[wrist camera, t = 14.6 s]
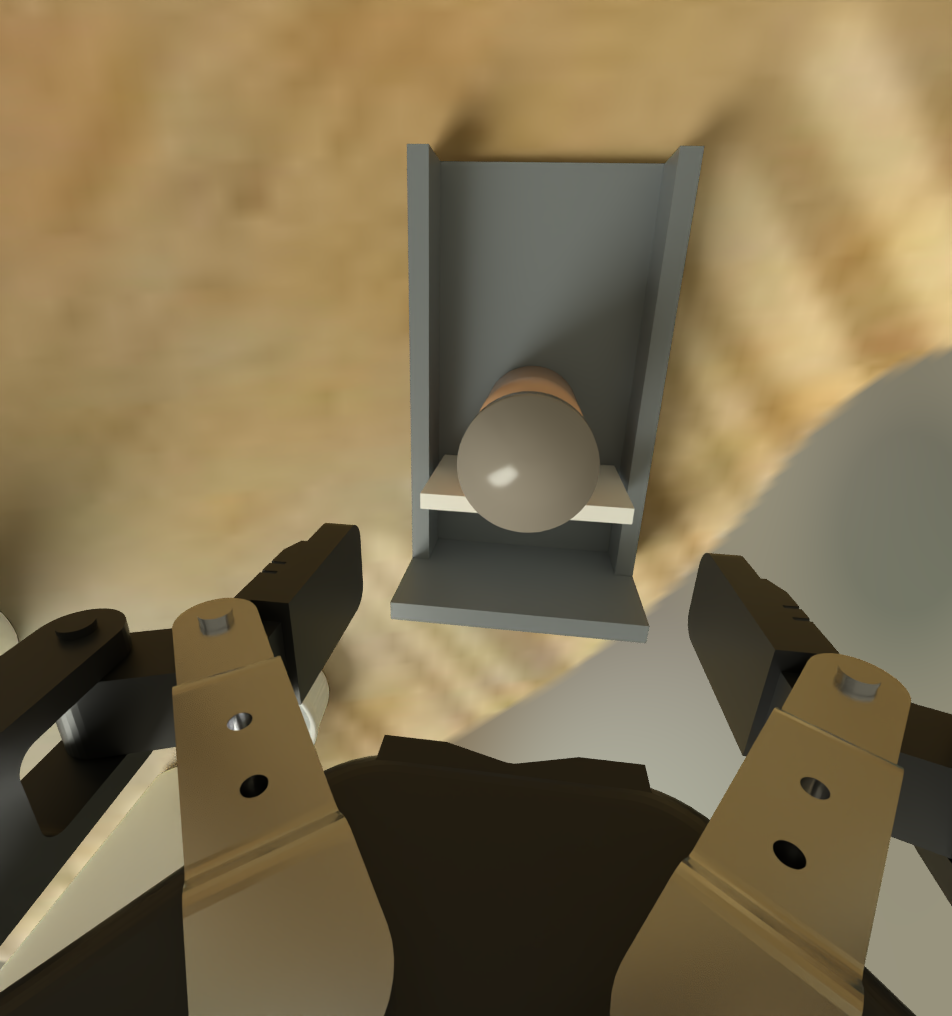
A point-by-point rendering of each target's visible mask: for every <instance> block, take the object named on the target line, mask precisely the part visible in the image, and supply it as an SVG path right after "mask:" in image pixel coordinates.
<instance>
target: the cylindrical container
mask: <svg viewBox="0 0 952 1016" xmlns="http://www.w3.org/2000/svg"><path fill="white" fill-rule="evenodd" d="M16 644H18V639H17V635H16V633H15V630H14V628H13V627H12V625H11V624H10V622H9V621H8V619H7V618H6V617H5V616H4V615H3V614H2V613H1V612H0V656H1V655H2V654H4V653H5V652H6V651H8V650H9V649H11V648H12V647H14V646H15V645H16Z"/></svg>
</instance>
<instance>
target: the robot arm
mask: <svg viewBox="0 0 952 1016" xmlns="http://www.w3.org/2000/svg"><path fill="white" fill-rule="evenodd" d="M362 591H363V576H362V559H361V541H360V532H359V529H358V527H357V526H356V525H346V524H333V523H325V524H323V525H322V526H321V527H320V528H319V530H318V531H317V532H316V533H315V534H314V535H313V536H312V537H311V538H310V539H309V540H308V541H300V542H298V543H296V544H294V545H292V546H290V547H288V548H286V549H284V550H283V551H282V552H281V553H280V554H279V555H278V556H277V557H275V558H274V559H273V560H272V563H269V564H268V565H267V566H266V567H265V568H264V569H263V571H262V573H261V572H260V573H259V574H258V575H257V576H256V577H255V578H254V579H253V580H252V581H251V582H250V583H249V584H248V585H247V586H245V587H244V588H243V589H242V590H241V591H240V592H239V593H238V594H237V595H236V596H235V597H234V598H221V599H215V600H211V601H207V602H204V603H201V604H198V605H196V606H194V607H191V608H190V609H188V610H186V611H185V612H183V613H182V614H181V615H180V616H179V617H178V618H177V619H176V620H175V621H174V624H173V627H172V628H171V629H162V630H152V631H143V632H133V633H130V632H129V628H128V624H127V620H126V617H125V615H124V614H123V613H122V612H120V611H118V610H114V609H91V610H84V611H80V612H76V613H72V614H69V615H66V616H63V617H60V618H58V619H56V620H53V621H51V622H49V623H48V624H46V625H44V626H42V627H41V628H39V629H38V630H36V631H35V632H34V633H32V634H31V635H29V636H28V637H26V638H25V639H24V640H22V641H21V642H19V643H18V644H16V645H15V646H14V647H12V648H11V649H9V650H8V651H6V652H5V653H4V654H2V655H1V656H0V946H1V944H2V943H3V942H4V941H5V939H6V938H7V937H8V936H9V934H10V933H11V932H12V930H13V929H14V928H15V927H16V925H17V924H18V923H19V921H20V920H21V919H22V918H23V916H24V915H25V914H26V913H27V911H28V910H29V909H30V907H31V906H32V905H33V904H34V902H35V901H36V900H37V898H38V897H39V896H40V895H41V893H42V892H43V891H44V890H45V888H46V887H47V886H48V884H49V883H50V882H51V881H52V879H53V878H54V877H55V875H56V874H57V873H58V872H59V870H60V869H61V868H62V867H63V865H64V864H65V863H66V861H67V860H68V859H69V858H70V856H71V855H72V854H73V852H74V851H75V850H76V849H77V847H78V846H79V845H80V844H81V842H82V841H83V840H84V838H85V837H86V836H87V835H88V833H89V832H90V831H91V829H92V828H93V827H94V826H95V824H96V823H97V822H98V821H99V819H100V818H101V817H102V815H103V814H104V813H105V812H106V810H107V809H108V808H109V807H110V805H111V804H112V803H113V801H114V800H115V799H116V798H117V796H118V795H119V794H120V792H121V791H122V790H123V789H124V787H125V786H126V785H127V784H128V782H129V781H130V780H131V778H132V777H133V776H134V775H135V773H136V772H137V771H138V769H139V768H140V767H141V766H142V764H143V763H144V762H145V761H146V759H147V758H148V757H149V755H150V754H151V753H152V751H153V750H158V749H164V748H171V747H176V756H177V770H178V785H179V799H180V814H181V828H182V843H183V857H184V866H182V867H181V868H179V869H178V870H176V871H175V872H173V873H172V874H171V875H169V876H168V877H166V878H165V879H163V880H162V881H160V882H159V883H158V884H156V885H155V886H153V887H152V888H150V889H149V890H147V891H146V892H144V893H143V894H142V895H140V896H139V897H137V898H136V899H134V900H133V901H131V902H130V903H129V904H127V905H126V906H124V907H123V908H121V909H120V910H118V911H117V912H116V913H114V914H113V915H111V916H110V917H108V918H107V919H105V920H104V921H103V922H101V923H100V924H98V925H97V926H95V927H94V928H92V929H91V930H90V931H88V932H87V933H85V934H84V935H82V936H81V937H79V938H78V939H77V940H75V941H74V942H72V943H71V944H69V945H68V946H66V947H65V948H64V949H62V950H61V951H59V952H58V953H56V954H55V955H53V956H52V957H50V958H49V959H48V960H46V961H45V962H43V963H42V964H40V965H39V966H37V967H36V968H35V969H33V970H32V971H30V972H29V973H27V974H26V975H24V976H23V977H22V978H20V979H19V980H17V981H16V982H14V983H13V984H11V985H10V986H9V987H7V988H6V989H4V990H3V991H1V992H0V1016H916V1015H915V1014H914V1013H913V1012H912V1011H911V1010H910V1009H909V1008H908V1007H907V1006H906V1005H904V1004H903V1003H902V1002H901V1001H900V1000H899V999H898V998H897V997H896V996H895V995H894V994H893V993H892V992H891V991H890V990H889V989H888V988H887V987H886V986H885V985H884V984H883V983H882V982H881V981H879V980H878V979H877V978H876V977H875V976H874V975H873V974H872V973H871V972H870V971H869V970H868V969H867V968H866V967H865V966H864V965H865V960H866V955H867V950H868V946H869V941H870V936H871V931H872V926H873V921H874V916H875V911H876V906H877V901H878V896H879V892H880V887H881V882H882V877H883V872H884V867H885V862H886V858H887V852H888V848H889V842H890V838H891V837H894V838H896V839H899V840H902V841H905V842H907V843H910V844H912V845H914V846H915V848H916V850H917V852H918V853H919V855H920V856H921V858H922V860H923V861H924V863H925V864H926V866H927V867H928V869H929V871H930V872H931V874H932V875H933V877H934V879H935V880H936V882H937V883H938V885H939V887H940V888H941V890H942V891H943V893H944V895H945V896H946V898H947V899H948V901H949V902H950V904H951V906H952V714H948V713H945V712H941V711H938V710H934V709H931V708H927V707H924V706H920V705H917V704H914V703H911V698H910V695H909V693H908V691H907V690H906V688H905V687H904V686H903V685H902V684H901V683H900V682H899V681H898V680H897V679H896V678H894V677H893V676H891V675H890V674H889V673H887V672H885V671H884V670H882V669H880V668H878V667H876V666H874V665H872V664H870V663H868V662H865V661H863V660H860V659H857V658H854V657H850V656H846V655H841V654H839V652H838V651H837V650H836V649H835V648H834V647H833V645H832V644H831V643H830V642H829V641H828V640H827V638H826V637H825V636H824V635H823V634H822V633H821V631H820V630H819V629H818V628H817V627H816V626H815V624H813V622H810V621H809V617H808V616H807V615H806V614H805V613H804V612H803V611H802V609H799V606H798V605H797V604H796V602H795V601H794V600H793V599H792V598H791V597H790V595H789V594H788V593H787V592H786V591H784V590H783V589H781V588H779V587H778V586H776V585H775V584H773V583H772V582H770V581H768V580H767V579H761V578H760V577H759V576H758V575H757V574H756V572H755V571H754V570H753V569H752V567H751V566H750V565H749V564H748V563H747V561H746V560H745V559H744V558H743V557H742V556H738V555H725V554H712V553H705V554H704V555H703V557H702V559H701V561H700V565H699V569H698V573H697V578H696V582H695V587H694V592H693V596H692V601H691V605H690V610H689V615H688V630H689V636H690V640H691V642H692V645H693V647H694V649H695V651H696V653H697V656H698V658H699V660H700V662H701V665H702V667H703V669H704V671H705V673H706V676H707V678H708V680H709V682H710V684H711V686H712V689H713V691H714V693H715V695H716V698H717V700H718V702H719V704H720V706H721V709H722V711H723V713H724V715H725V718H726V720H727V722H728V724H729V726H730V729H731V731H732V733H733V735H734V738H735V740H736V742H737V744H738V746H739V749H740V751H741V753H742V755H743V756H746V758H745V760H744V762H743V763H742V765H741V767H740V769H739V770H738V772H737V774H736V776H735V777H734V779H733V781H732V783H731V784H730V786H729V788H728V790H727V791H726V793H725V795H724V797H723V798H722V800H721V802H720V804H719V805H718V807H717V809H716V810H715V812H714V814H713V816H712V817H711V819H710V820H709V819H708V818H707V817H705V816H704V815H702V814H701V813H699V812H697V811H696V810H694V809H693V808H692V807H690V806H688V805H686V804H685V803H683V802H681V801H679V800H677V799H676V798H673V797H671V796H669V795H667V794H665V793H662V792H660V791H657V790H654V789H652V788H650V784H649V780H648V776H647V771H646V768H645V765H641V764H633V763H624V762H615V761H607V760H598V759H589V758H580V757H577V758H567V759H557V760H548V761H539V762H528V763H519V764H512V763H506V762H503V761H500V760H497V759H494V758H491V757H488V756H485V755H483V754H479V753H477V752H474V751H471V750H468V749H465V748H462V747H459V746H457V745H454V744H451V743H448V742H442V741H433V740H425V739H416V738H407V737H399V736H390V735H385V736H384V739H383V742H382V744H381V747H380V750H379V753H378V755H377V756H369V757H364V758H359V759H355V760H351V761H348V762H345V763H342V764H339V765H336V766H334V767H332V768H329V769H327V770H325V771H323V769H322V766H321V763H320V761H319V758H318V755H317V752H316V750H315V747H314V744H313V742H312V739H311V736H310V734H309V731H308V728H307V726H306V723H305V720H304V718H303V715H302V712H301V709H300V707H299V705H301V704H302V703H303V701H304V699H305V697H306V696H307V694H308V692H309V691H310V689H311V687H312V686H313V684H314V682H315V681H316V679H317V677H318V675H319V674H320V672H321V670H322V669H323V667H324V665H325V664H326V662H327V660H328V658H329V657H330V655H331V653H332V652H333V650H334V648H335V647H336V645H337V643H338V642H339V640H340V638H341V636H342V635H343V633H344V631H345V630H346V628H347V626H348V625H349V623H350V621H351V620H352V618H353V616H354V614H355V613H356V611H357V609H358V607H359V605H360V602H361V598H362ZM55 722H56V724H57V727H58V730H59V733H60V735H61V738H62V740H61V741H60V742H59V743H58V744H57V745H56V746H55V747H54V748H53V749H52V750H51V751H50V752H49V753H48V754H47V755H46V756H45V757H44V758H43V759H42V760H41V761H40V762H39V763H38V764H37V765H36V766H35V767H34V768H33V769H32V770H31V771H30V772H29V773H28V774H27V775H26V776H25V777H24V778H23V779H22V780H21V781H20V775H19V773H20V767H21V763H22V760H23V758H24V756H25V754H26V752H27V751H28V749H29V748H30V747H31V745H32V744H33V743H34V742H35V741H36V740H37V739H38V738H39V737H40V736H41V735H42V734H44V733H45V732H46V731H47V730H48V729H49V728H50V727H51V726H52V725H53V724H54V723H55Z"/></svg>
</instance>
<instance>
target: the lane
mask: <svg viewBox="0 0 952 1016" xmlns="http://www.w3.org/2000/svg"><path fill="white" fill-rule="evenodd" d="M703 152H704V146H680V147H679V148H678V149H677V150H676V151H675V153H674V154H673V155H672V156H671V157H670V158H669V159H668V160H667V162H666V163H665V164H649V163H553V162H457V161H440V160H439V158H438V157H437V155H436V154H435V153H434V151H433V150H432V148H431V147H430V145H429V144H407V186H408V258H409V330H410V403H411V475H412V547H413V558H412V560H411V562H410V564H409V566H408V568H407V570H406V572H405V574H404V576H403V578H402V580H401V582H400V584H399V586H398V588H397V590H396V592H395V594H394V596H393V598H392V600H391V602H390V603H391V619H398V620H409V621H419V622H429V623H440V624H450V625H461V626H471V627H482V628H492V629H502V630H513V631H523V632H534V633H544V634H555V635H565V636H576V637H586V638H596V639H607V640H617V641H628V642H638V643H646V642H647V636H648V631H649V624H648V621H647V618H646V615H645V612H644V609H643V606H642V603H641V600H640V597H639V595H638V592H637V589H636V586H635V583H634V580H633V577H632V575H633V569H634V563H635V557H636V551H637V545H638V539H639V533H640V528H641V522H642V516H643V510H644V504H645V498H646V492H647V486H648V480H649V474H650V468H651V462H652V456H653V450H654V444H655V438H656V432H657V426H658V420H659V414H660V408H661V402H662V396H663V390H664V384H665V378H666V372H667V366H668V360H669V355H670V349H671V343H672V337H673V331H674V325H675V319H676V313H677V307H678V301H679V295H680V289H681V283H682V277H683V271H684V265H685V259H686V253H687V247H688V241H689V235H690V229H691V223H692V217H693V211H694V205H695V199H696V193H697V187H698V182H699V176H700V170H701V164H702V158H703ZM524 366H541V367H545V368H548V369H550V370H553V371H554V372H556V373H558V374H559V375H560V376H562V377H563V378H564V379H565V380H566V381H567V382H568V384H569V385H570V386H571V388H572V390H573V392H574V394H575V397H576V399H577V402H578V405H579V407H580V410H581V412H582V415H583V418H584V419H585V420H586V422H587V423H588V425H589V427H590V429H591V431H592V434H593V436H594V438H595V441H596V444H597V447H598V451H599V458H600V465H614V466H615V468H616V470H617V472H618V474H619V477H620V479H621V481H622V483H623V485H624V487H625V489H626V492H627V494H628V496H629V498H630V500H631V502H632V504H633V507H634V515H633V522H632V524H619V523H606V522H593V521H579V520H569V521H567V522H566V523H564V524H562V525H560V526H558V527H555V528H552V529H550V530H545V531H541V532H533V533H525V532H515V531H511V530H507V529H504V528H501V527H499V526H496V525H495V524H493V523H491V522H489V521H488V520H486V519H485V518H483V517H482V516H481V515H480V514H479V513H472V512H459V511H446V510H432V509H420V493H421V491H422V490H423V488H424V487H425V485H426V483H427V482H428V480H429V479H430V477H431V475H432V474H433V472H434V471H435V469H436V468H437V466H438V464H439V463H440V461H441V460H442V458H443V456H444V455H458V451H459V446H460V444H461V441H462V438H463V436H464V434H465V432H466V430H467V429H468V427H469V425H470V423H471V422H472V420H473V419H474V418H475V416H476V415H477V414H478V413H479V411H480V409H481V408H482V406H483V404H484V402H485V400H486V398H487V396H488V394H489V392H490V391H491V389H492V387H493V386H494V384H495V383H496V382H497V381H498V380H499V379H500V378H501V377H502V376H503V375H505V374H506V373H508V372H509V371H512V370H514V369H516V368H519V367H524Z"/></svg>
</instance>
